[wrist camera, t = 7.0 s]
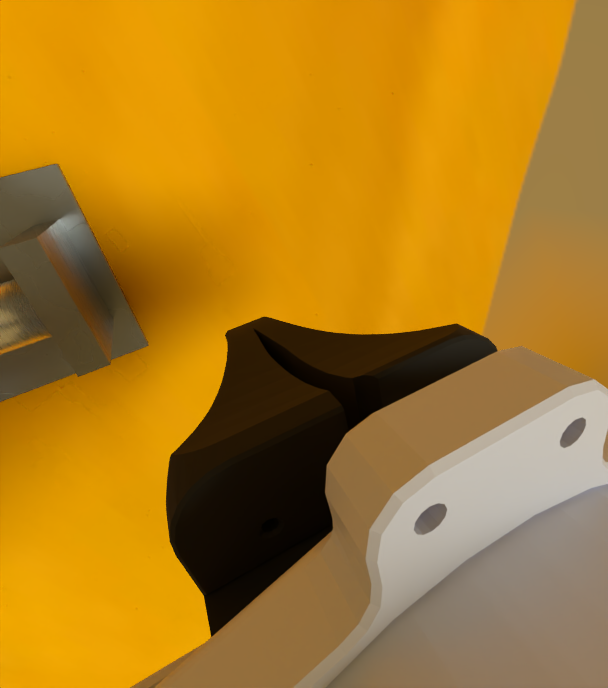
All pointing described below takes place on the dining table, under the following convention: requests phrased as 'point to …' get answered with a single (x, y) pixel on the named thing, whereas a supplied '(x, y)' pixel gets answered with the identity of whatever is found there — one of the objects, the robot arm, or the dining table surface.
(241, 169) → the dining table surface
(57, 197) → the pipe rig
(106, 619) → the dining table surface
